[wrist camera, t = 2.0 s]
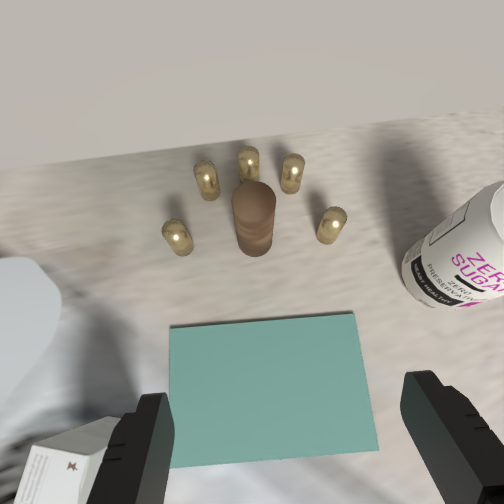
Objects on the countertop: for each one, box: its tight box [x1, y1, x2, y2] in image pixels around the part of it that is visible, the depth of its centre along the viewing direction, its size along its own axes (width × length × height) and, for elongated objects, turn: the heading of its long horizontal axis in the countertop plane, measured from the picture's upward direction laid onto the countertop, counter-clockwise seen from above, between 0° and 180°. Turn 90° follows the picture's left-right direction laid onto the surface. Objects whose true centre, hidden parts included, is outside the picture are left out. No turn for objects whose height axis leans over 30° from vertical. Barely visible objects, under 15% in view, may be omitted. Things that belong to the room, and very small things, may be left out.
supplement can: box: [402, 181, 504, 311], centre depth 31 cm, size 8×8×15 cm
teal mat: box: [169, 314, 379, 468], centre depth 34 cm, size 20×13×1 cm, turn 95°
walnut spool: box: [232, 181, 276, 257], centre depth 35 cm, size 4×4×10 cm
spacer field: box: [162, 146, 347, 256], centre depth 39 cm, size 19×11×5 cm, turn 95°
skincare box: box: [14, 416, 121, 504], centre depth 27 cm, size 6×4×12 cm
